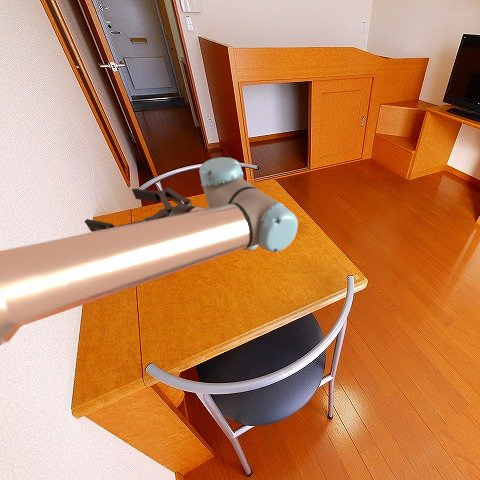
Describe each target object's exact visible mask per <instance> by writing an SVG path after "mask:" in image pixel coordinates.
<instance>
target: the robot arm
mask: <svg viewBox="0 0 480 480" xmlns="http://www.w3.org/2000/svg"><path fill="white" fill-rule="evenodd" d="M198 172H199V177H200V181H201V184H200V185H201V188H202V190H203V193H204V197H205V199H206V203H207V206H208V207H203V206H195V205H193V204H192V201H191V199H190V198H187V197H183V196H182V195H181V194H179V193H178V192H176V191H175V190H173V189H172V188H171V187H165V188H164V190H159V191H157V190H145V189H140V188H135V187H134V188H132V189H131V191H132V194H133V195H134V197H135V200H139V201H145V202H151V203H157V204H159V203H160V202H161V204H162V205H163V207H164V208H161V209H159V210H158V211H157V212H156V213H154V214H153V215H151V216H146V217H144V219H142V220H139V221H133V222H129V223H124V224H119V225H116V226H115V225H114V224H113V223H109V222H105V221H99V220H93V219H89V218H86V219H85V220H83V222H84V223H85V225H86V226H87V227H88V229H89V231H90V232H85V233H81V234H80V233H79V234H75V235H70V236H66V237H61V238H55V239H51V240H47V241H41V242H35V243H31V244H26V245H21V246H17V247H12V248H7V249H3V250H0V346H1V345H4V344H6V343H9V342H11V340H12V339H13V338H14V336H15V335H16V334H17V332H18V331H19V330H20V329H21V328H22V327H23V326H26V325H29V324H32V323H34V322H37V321H40V320H43V319H46V318H49V317H52V316H55V315H57V314H61V313H63V312H66V311H69V310H72V309H75V308H77V307H80V306H83V305H87V304H89V303H93V302H95V301H98V300H100V299H104V298H106V297H109V296H113V295H115V294H118V293H122V292H124V291H126V290H130V289H133V288H135V287H138V286H141V285H144V284H147V283H150V282H153V281H156V280H158V279H161V278H164V277H168V276H170V275H173V274H177V273H179V272H182V271H184V270H187V269H190V268H194V267H196V266H199V265H201V264H205V263H208V262H210V261H214V260H217V259H219V258H221V257H226V256H228V255H231V254H234V253H237V252H239V251H240V252H241V251H254V250H256V249H257V248H258V247H260V248H261V249H263V250H266V251H267V252H270V253H278V252H281V251H283V250H285V249H286V248H287V247H289V246H290V245H291V244H292V242H293V241H294V239H295V237H296V236H297V233H298V228H299V227H298V226H299V221H298V217H297V216H296V215H295V213H294V212H292V211H291V210H290V209H288V208H287V207H286V206H285V205H284V204H283V203H282V202H280V201H277V200H275V198H273V197H271V196H270V195H268V194H266V193H265V192H263V191H262V190H260V189H259V188H258V187H256V186H254V185H253V184H251V183H250V182H248V181H246V180H245V178H244V172H243V169H242V166H241V163H240V161H238V160H237V159H234V158H232V157H224V156H223V157H222V156H221V157H214V158H211V159H208V160H206V161H205V162H203V163H202V164H201V165H200V167H199V171H198ZM168 199H169V200H170V201H172V202H173V203H175V204H176V205H175V206H173V205H172V204H171V202H170V201H169V200H168Z"/></svg>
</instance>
